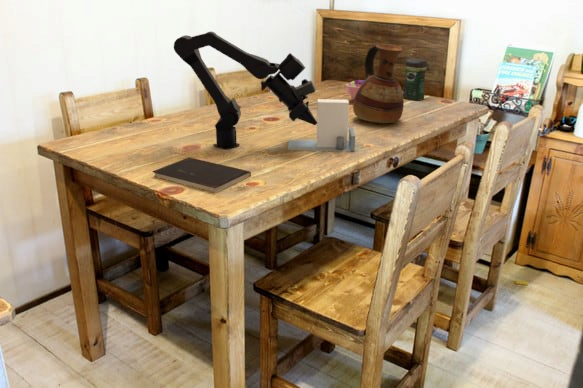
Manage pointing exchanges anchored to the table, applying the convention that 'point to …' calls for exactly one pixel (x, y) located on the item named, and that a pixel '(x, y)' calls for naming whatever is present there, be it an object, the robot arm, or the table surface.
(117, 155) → the table surface
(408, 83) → the coffee jar
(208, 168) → the hardcover book
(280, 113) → the table surface
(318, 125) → the panel
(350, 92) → the cell model
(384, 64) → the ceramic pitcher
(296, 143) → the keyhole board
